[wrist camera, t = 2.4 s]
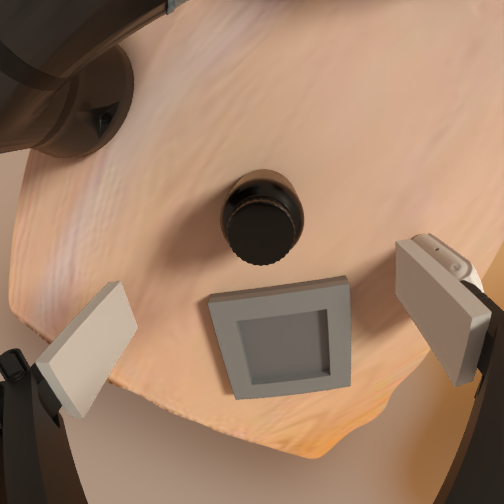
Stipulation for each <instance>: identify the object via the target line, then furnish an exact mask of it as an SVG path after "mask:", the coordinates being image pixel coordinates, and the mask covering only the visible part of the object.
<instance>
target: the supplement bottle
mask: <svg viewBox="0 0 504 504" xmlns="http://www.w3.org/2000/svg"><path fill="white" fill-rule="evenodd" d="M220 223H221V229H222V232H223V235H224V237H225V239H226V241H227V242H228V243H229V245H230V247H231V248H232V250H233V252H234V253H236V255H237V257H240V258H241V259H242V260H243V261H246V262H247V263H252V264H253V265H260V266H262V265H269V264H274V263H275V262H276V261H280V259H281V258H284V257H285V255H286V254H287V253H289V251H290V250H291V249H292V248H293V247H294V246H295V244H296V243H297V242H298V240H299V238H300V236H301V234H302V231H303V227H304V212H303V208H302V204H301V202H300V200H299V198H298V196H297V194H296V191H295V189H294V187H293V186H292V184H291V183H290V182H289V180H288V179H287V178H286V177H284V176H283V175H281V174H280V173H278V172H275V171H272V170H267V169H261V170H255V171H252V172H250V173H248V174H246V175H244V176H243V177H242V178H241V179H240V180H239V181H238V182H237V183H236V185H235V186H234V187H233V189H232V190H231V192H230V193H229V194H228V196H227V197H226V199H225V201H224V203H223V206H222V209H221V215H220Z"/></svg>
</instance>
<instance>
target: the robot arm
mask: <svg viewBox="0 0 504 504" xmlns="http://www.w3.org/2000/svg"><path fill="white" fill-rule="evenodd" d="M186 1H188V0H0V153H6V152H10V151H17V150H22V149H27V148H32V149H35V150H37V151H40V152H43V153H45V154H48V155H51V156H53V157H57V158H73V157H79V156H84V155H88V154H90V153H92V152H94V151H96V150H98V149H100V148H101V147H103V146H104V145H105V144H106V143H107V142H108V141H110V139H111V138H112V137H113V136H114V135H115V134H116V133H117V131H118V130H119V128H120V127H121V125H122V124H123V122H124V120H125V118H126V116H127V114H128V111H129V108H130V105H131V102H132V97H133V91H134V75H133V69H132V66H131V63H130V60H129V58H128V56H127V54H126V53H125V52H124V50H123V49H122V48H121V47H120V46H119V45H118V43H119V42H121V41H122V40H124V39H125V38H127V37H128V36H130V35H131V34H133V33H134V32H136V31H138V30H139V29H141V28H142V27H144V26H146V25H147V24H149V23H151V22H152V21H154V20H156V19H158V18H159V17H161V16H163V15H165V14H166V15H168V14H171V13H172V12H174V10H175V8H176V7H178V6H180V5H181V4H183V3H185V2H186ZM395 243H396V281H395V295H396V297H397V298H398V300H399V301H400V303H401V304H402V306H403V307H404V308H405V310H406V311H407V313H408V314H409V316H410V317H411V319H412V320H413V322H414V323H415V325H416V326H417V328H418V329H419V331H420V332H421V334H422V335H423V337H424V338H425V340H426V341H427V343H428V345H429V346H430V348H431V349H432V351H433V352H434V354H435V356H436V357H437V359H438V360H439V362H440V363H441V365H442V367H443V369H444V370H445V372H446V373H447V375H448V377H449V378H450V380H451V382H452V383H453V385H454V387H457V386H460V385H463V384H466V383H469V382H471V381H473V379H474V376H475V373H476V370H477V368H478V369H479V370H480V372H481V373H482V378H481V381H480V383H479V386H478V389H477V391H476V394H475V402H474V405H473V408H472V411H471V415H470V418H469V421H468V424H467V427H466V429H465V432H464V435H463V438H462V440H461V443H460V446H459V448H458V451H457V453H456V456H455V458H454V460H453V463H452V465H451V467H450V470H449V472H448V474H447V476H446V479H445V481H444V483H443V485H442V487H441V489H440V491H439V493H438V495H437V497H436V499H435V501H434V503H433V504H504V311H503V310H502V309H500V307H498V306H497V305H496V304H495V303H494V302H493V301H492V300H491V299H490V298H488V297H487V295H485V294H484V293H483V292H482V291H481V290H480V289H479V288H478V287H477V286H476V285H474V284H472V283H470V282H468V281H465V280H461V281H458V280H457V279H456V278H455V277H454V276H453V275H452V274H451V273H450V272H448V271H447V270H446V269H445V268H444V267H443V266H442V265H440V264H439V263H438V262H437V261H436V260H435V259H433V258H432V257H431V256H430V255H429V254H428V253H426V252H425V251H424V250H423V249H422V248H420V247H419V246H418V245H417V244H416V243H414V242H413V241H412V240H411V239H408V240H401V241H395ZM137 329H138V326H137V323H136V321H135V318H134V315H133V313H132V310H131V307H130V305H129V302H128V299H127V296H126V294H125V291H124V288H123V285H122V282H121V281H116V282H109V283H108V284H107V285H106V286H105V287H104V288H103V289H102V290H101V291H100V292H99V293H98V294H97V295H96V296H95V297H94V298H93V299H92V300H91V301H90V302H89V303H88V304H87V305H86V306H85V307H84V308H83V309H82V310H81V311H80V313H79V314H78V315H77V316H76V317H75V318H74V319H73V320H72V321H71V322H70V323H69V324H68V325H67V326H66V328H65V329H64V330H63V331H62V332H61V333H60V334H59V335H58V336H57V337H56V338H55V340H54V341H53V342H52V343H51V344H50V345H49V346H48V347H47V349H46V350H45V351H44V352H43V353H42V354H41V355H40V357H39V358H38V359H37V360H36V361H35V363H34V364H33V365H32V366H31V368H30V366H29V365H28V363H27V361H26V359H25V357H24V356H23V354H22V352H21V350H20V349H11V350H8V351H6V352H4V353H3V354H2V355H0V373H1V374H2V376H3V377H4V379H5V381H1V382H0V504H88V502H87V500H86V497H85V494H84V491H83V488H82V485H81V483H80V479H79V476H78V473H77V470H76V467H75V464H74V460H73V457H72V453H71V450H70V446H69V442H68V439H67V434H66V430H65V426H64V421H63V418H62V416H61V414H60V413H59V410H60V408H61V407H62V406H63V407H64V409H65V411H66V412H67V413H68V415H69V416H71V417H77V418H83V419H84V417H85V415H86V414H87V412H88V410H89V408H90V407H91V405H92V403H93V401H94V400H95V398H96V396H97V394H98V393H99V391H100V389H101V388H102V386H103V384H104V383H105V381H106V379H107V378H108V376H109V374H110V373H111V371H112V369H113V368H114V366H115V364H116V363H117V361H118V359H119V358H120V356H121V354H122V353H123V351H124V350H125V348H126V346H127V345H128V343H129V342H130V340H131V338H132V337H133V335H134V334H135V332H136V330H137Z"/></svg>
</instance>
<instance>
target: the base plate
mask: <svg viewBox="0 0 504 504" xmlns="http://www.w3.org/2000/svg"><path fill="white" fill-rule="evenodd" d="M208 307H209V311H210V314H211V318H212V322H213V325H214V329H215V332H216V336H217V339H218V343H219V346H220V350H221V353H222V357H223V360H224V363H225V367H226V370H227V373H228V377H229V380H230V383H231V386H232V390H233V393H234V396H235V399H236V400H240V399H254V398H266V397H277V396H286V395H295V394H303V393H310V392H317V391H324V390H331V389H337V388H343V387H348V386H351V305H350V284H349V282H348V280H347V278H346V276H340V277H333V278H327V279H320V280H313V281H307V282H300V283H293V284H285V285H278V286H271V287H264V288H256V289H248V290H240V291H233V292H224V293H216V294H211V295H210V298H209V300H208Z"/></svg>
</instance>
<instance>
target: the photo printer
mask: <svg viewBox="0 0 504 504" xmlns="http://www.w3.org/2000/svg"><path fill="white" fill-rule="evenodd" d="M412 241H413V242H414V243H416V244H417V245H418V246H419V247H420V248H422V249H423V250H424V251H425V252H426V253H428V254H429V255H430V256H431V257H432V258H433V259H435V260H436V261H437V262H438V263H439V264H440V265H442V266H443V267H444V268H445V269H446V270H447V271H448V272H450V273H451V274H452V275H453V276H454V277H455V278H456V279H457V280H458V281H461V280H465V281H468V282H470V283H472V284H474V285H476V286H477V287H478V288H479V289H480V290H481V291H482V292H483V293H484V290H483V286H482V283H481V280H480V278H479V276H478V274H477V272H476V270H475V268H474V266H473V265H472V263H471V262H470V261H469V260H467V259H466V258H465V257H463V256H462V255H461V254H459V253H458V252H456V251H455V250H454V249H452V248H451V247H449V246H448V245H447V244H445V243H444V242H442V241H441V240H440V239H438V238H437V237H435V236H434V235H432V234H430V233H429V234H428V235H427V234H420V235H417V236H415V237H414V238H413V239H412Z"/></svg>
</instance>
